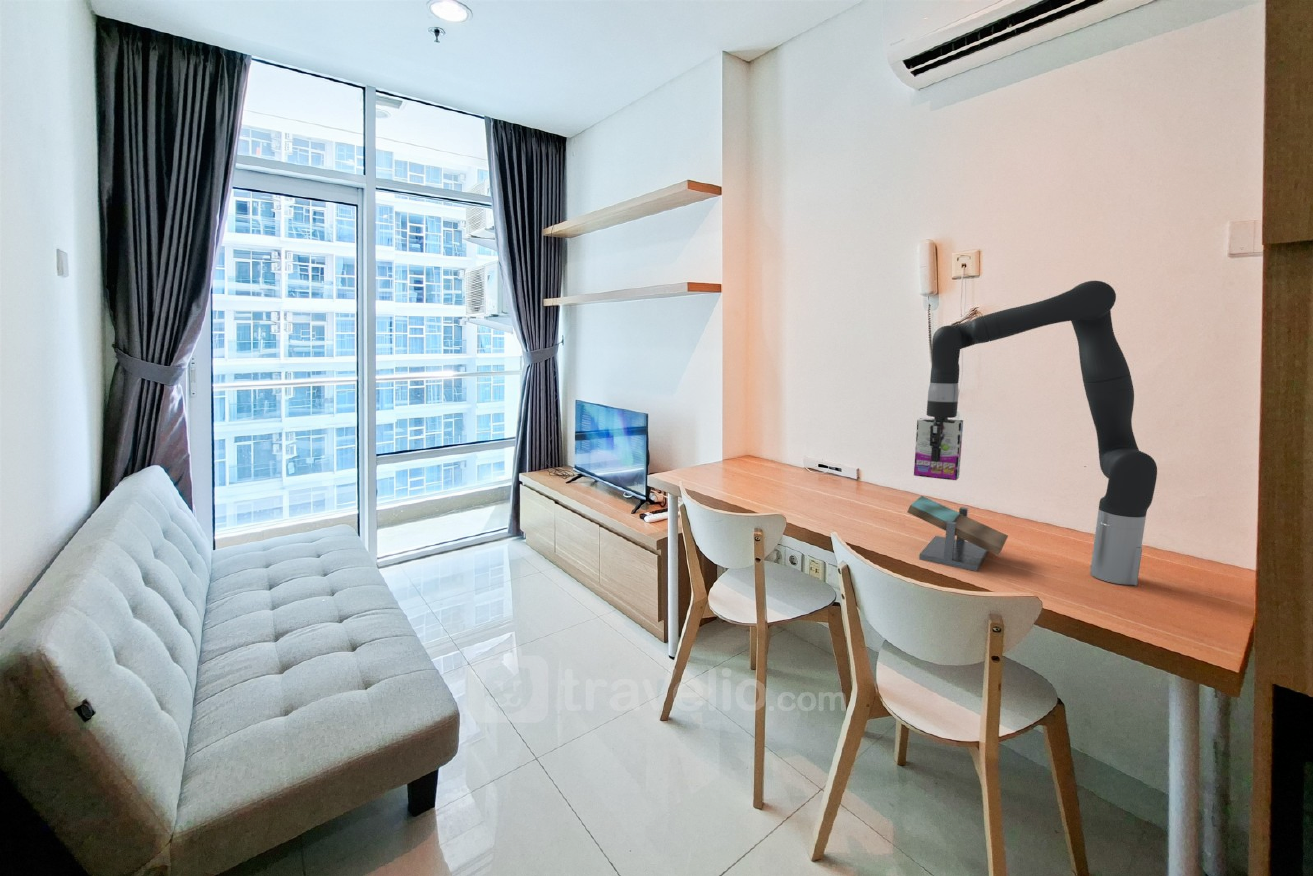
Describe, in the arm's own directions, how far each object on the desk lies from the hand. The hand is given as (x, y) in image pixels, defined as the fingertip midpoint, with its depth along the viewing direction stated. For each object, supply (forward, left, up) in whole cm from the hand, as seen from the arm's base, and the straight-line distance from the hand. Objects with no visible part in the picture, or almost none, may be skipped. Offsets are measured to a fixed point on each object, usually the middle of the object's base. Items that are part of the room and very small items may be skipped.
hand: (937, 459), depth 159 cm
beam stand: (-6, 0, -26) cm, 27 cm away
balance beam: (-6, 0, -17) cm, 19 cm away
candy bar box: (0, 0, -5) cm, 5 cm away
